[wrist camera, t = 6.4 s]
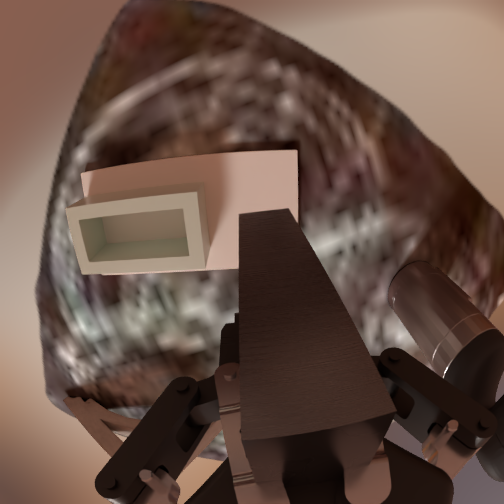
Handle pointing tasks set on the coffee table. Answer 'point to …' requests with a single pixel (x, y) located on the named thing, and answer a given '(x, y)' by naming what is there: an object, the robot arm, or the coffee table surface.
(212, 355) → the coffee table surface
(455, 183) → the coffee table surface
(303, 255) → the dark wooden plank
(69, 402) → the wall bracket
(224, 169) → the well board
